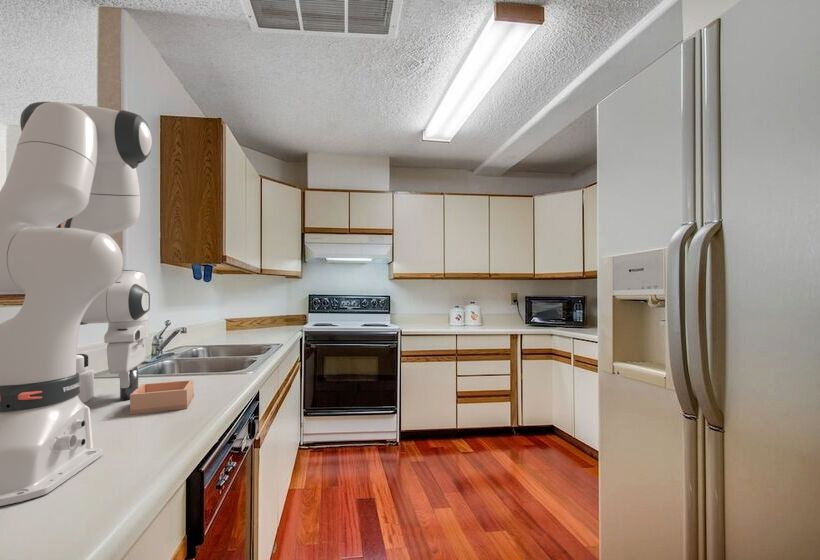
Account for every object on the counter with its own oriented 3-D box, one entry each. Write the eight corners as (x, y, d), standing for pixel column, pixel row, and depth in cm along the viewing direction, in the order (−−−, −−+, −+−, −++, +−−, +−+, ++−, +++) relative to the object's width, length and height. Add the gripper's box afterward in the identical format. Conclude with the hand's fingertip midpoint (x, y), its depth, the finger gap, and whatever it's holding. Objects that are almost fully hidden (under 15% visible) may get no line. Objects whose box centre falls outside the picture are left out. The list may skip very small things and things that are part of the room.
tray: (186, 408, 100) (186, 389, 100) (130, 414, 96) (129, 394, 96) (193, 396, 111) (193, 379, 111) (142, 401, 107) (142, 383, 107)
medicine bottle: (61, 399, 110) (60, 353, 110) (94, 396, 113) (94, 351, 113) (51, 406, 104) (51, 357, 104) (87, 402, 107) (86, 355, 107)
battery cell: (136, 399, 109) (135, 368, 109) (118, 401, 108) (117, 370, 108) (140, 395, 113) (139, 366, 113) (122, 397, 111) (122, 367, 111)
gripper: (126, 329, 119) (126, 377, 119) (101, 336, 100) (101, 395, 100) (151, 328, 121) (152, 375, 121) (132, 335, 102) (132, 392, 102)
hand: (129, 384), depth 110 cm, fingers open, 5 cm apart
